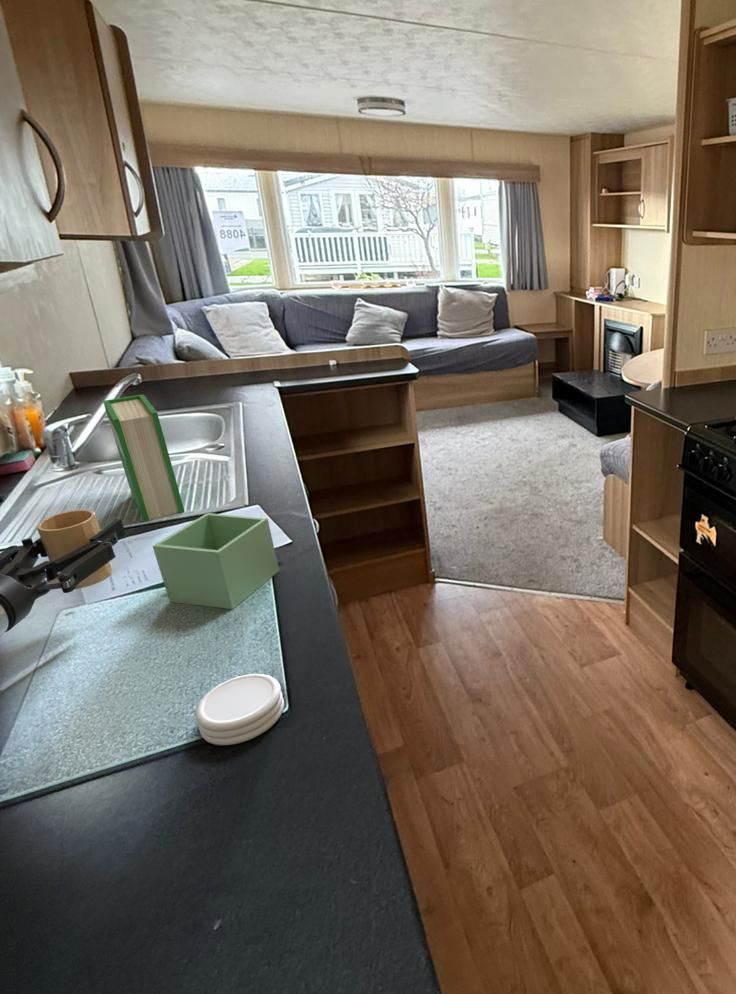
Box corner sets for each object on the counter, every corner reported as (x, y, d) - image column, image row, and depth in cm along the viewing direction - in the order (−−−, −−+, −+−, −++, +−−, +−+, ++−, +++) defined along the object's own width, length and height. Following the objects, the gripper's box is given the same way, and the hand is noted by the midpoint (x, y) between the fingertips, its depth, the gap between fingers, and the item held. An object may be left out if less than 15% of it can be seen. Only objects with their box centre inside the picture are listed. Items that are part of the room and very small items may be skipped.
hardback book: (186, 517, 141) (157, 412, 132) (146, 528, 137) (113, 420, 128) (170, 492, 154) (143, 394, 144) (133, 501, 149) (102, 400, 140)
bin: (169, 601, 112) (152, 545, 107) (220, 564, 123) (207, 512, 119) (233, 609, 109) (218, 552, 105) (279, 571, 121) (267, 518, 117)
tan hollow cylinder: (47, 586, 98) (24, 528, 94) (87, 563, 104) (68, 507, 100) (85, 591, 97) (64, 532, 93) (124, 567, 103) (105, 511, 99)
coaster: (194, 757, 80) (187, 735, 79) (207, 703, 89) (201, 683, 88) (283, 734, 84) (277, 713, 82) (286, 684, 92) (282, 664, 91)
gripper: (-94, 642, 82) (37, 550, 103) (71, 634, 84) (167, 545, 105) (-119, 591, 79) (21, 508, 101) (52, 585, 81) (154, 504, 102)
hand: (95, 527), depth 103 cm, fingers closed on tan hollow cylinder, 7 cm apart
